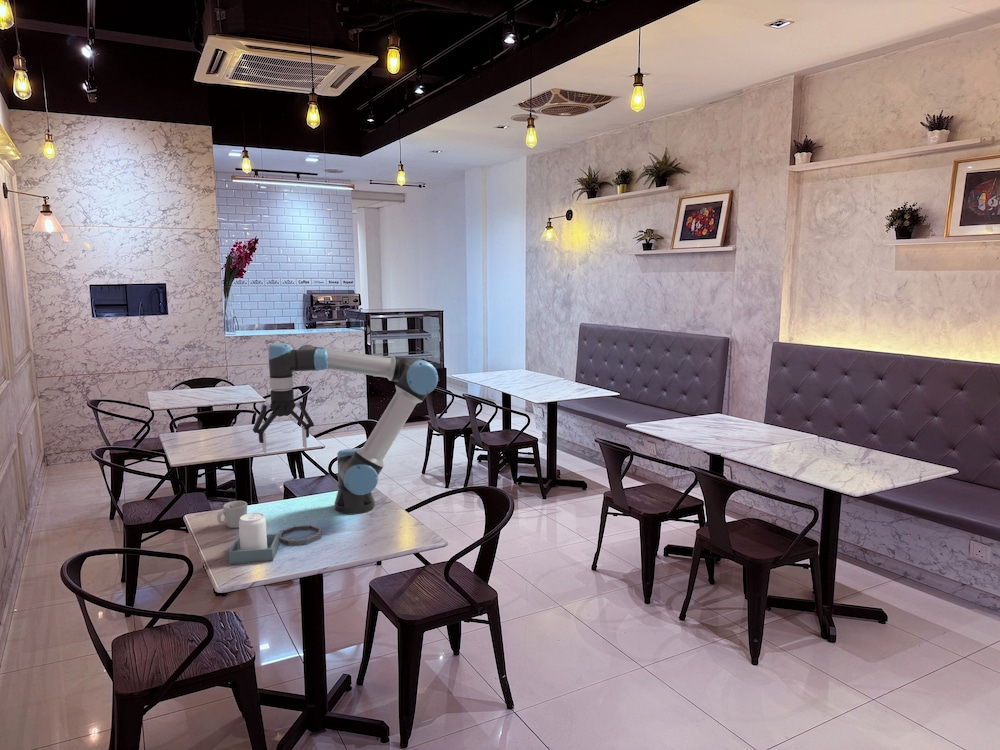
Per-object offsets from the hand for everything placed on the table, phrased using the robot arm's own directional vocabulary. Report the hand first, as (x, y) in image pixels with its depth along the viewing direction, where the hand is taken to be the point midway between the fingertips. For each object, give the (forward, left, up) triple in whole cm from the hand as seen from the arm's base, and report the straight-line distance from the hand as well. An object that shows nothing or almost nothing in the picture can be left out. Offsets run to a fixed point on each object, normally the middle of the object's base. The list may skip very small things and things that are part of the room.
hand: (285, 449), depth 232 cm
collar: (-5, +9, -29) cm, 31 cm away
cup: (+20, -5, -29) cm, 35 cm away
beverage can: (+8, +22, -28) cm, 36 cm away
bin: (+8, +22, -29) cm, 37 cm away
